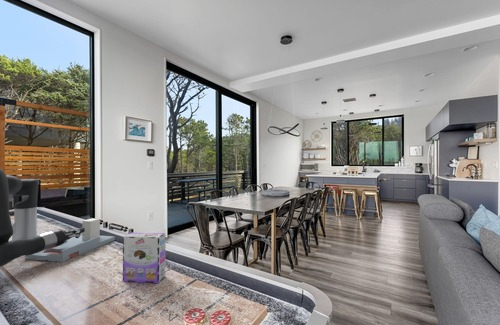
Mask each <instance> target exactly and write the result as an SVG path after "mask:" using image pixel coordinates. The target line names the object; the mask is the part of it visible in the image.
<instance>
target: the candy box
mask: <svg viewBox="0 0 500 325" xmlns="http://www.w3.org/2000/svg"><path fill="white" fill-rule="evenodd" d="M165 277H166V232H164V233H163V232H137V231H136V232H133V231H132V232H129V233H128V234H126V235H123V236H122V282H126V283H129V282H130V283H144V284H145V283H147V284H149V283H151V284H159V283H160V282H161V281H162V280H163V279H164V278H165Z"/></svg>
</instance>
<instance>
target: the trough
mask: <svg viewBox="0 0 500 325" xmlns="http://www.w3.org/2000/svg"><path fill="white" fill-rule="evenodd" d="M115 240H116V239H115V236H114V235H113V236H112V235H100V237H96V238H93V239H90V240H82V234H81V235H80V237H79V238H75V237H73V238H71V239H69V240H66V241H65V242H64V243H63V244H62V245H60V246H57V247H54V248H51V249H48V250H45V251H41V252H38V253H35V254H32V255H28V256H25V255H24V257H25V258H24V259H27V260H37V261H44V260H48V261H47V262H55V261H57V262H56V263H64V262H66V260H67V261H69V260H70V259H71V257H72V258H75V257H77V256H81V255H83V254H85V253H88V252H90V251H92V250H95V249H97V248H100V247H101V246H105V245H107V244H109V243H111V242H114V241H115ZM76 255H77V256H76Z"/></svg>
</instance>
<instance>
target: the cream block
mask: <svg viewBox="0 0 500 325" xmlns="http://www.w3.org/2000/svg"><path fill="white" fill-rule="evenodd" d="M100 223H101V219H100V218H89V219H85V220H82V224H81V225H82V227H81V228H85V232H83V233H81V235H82V240H90V239H93V238H96V237H100V236H101V235H100V234H101V233H100V232H101V231H100V230H101V224H100Z"/></svg>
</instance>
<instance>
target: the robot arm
mask: <svg viewBox="0 0 500 325" xmlns="http://www.w3.org/2000/svg"><path fill="white" fill-rule="evenodd" d="M38 194H39V182H38V180H37V179H35V178H18V177H17V176H13V175H11V174H6V172H5V171H4V170H3V168H0V267H3V266H5V265H7V264H9V263H11V262H13V261H14V260H16V259H17V258H21V257H25V256H28V255H32V254H35V253H38V252H44V251H45V250H48V249H51V248H54V247H57V246H60V245H62V244H63V243H64V242H65V241H66V240H69V239H72V238H79V237H80V236H81V235H82V233H83V232H85V228H82V227H79V228H74V229H71V228H69V229H65V230H64V229H59V228H57V229H54V230H50V231H45V232H42V233H40V234H37V233H38V232H37V230H38V229H37V228H38V227H37V226H38V224H37V223H38V197H39V195H38ZM10 195H12V196H17V197H18V196H19V197H22V196H28V197H27V198H26V199H24V200H22V201H19V202H16V203H14V206H13V207H14V210H13V214H14V217H13V218H14V220H13V222H12V220H11V215H10ZM10 239H11V240H10ZM9 240H10V241H9Z"/></svg>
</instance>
